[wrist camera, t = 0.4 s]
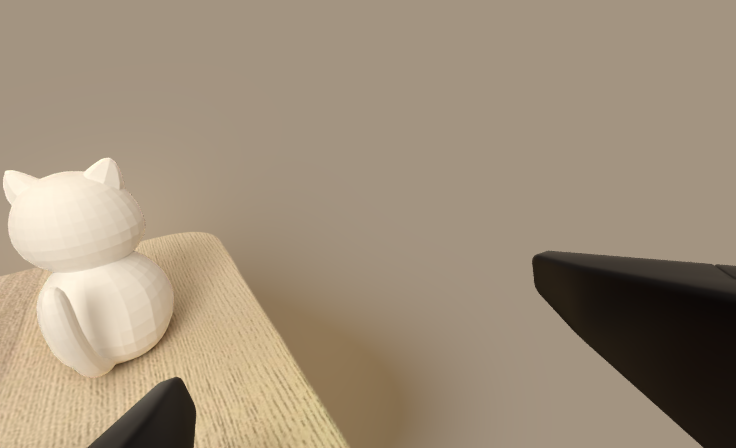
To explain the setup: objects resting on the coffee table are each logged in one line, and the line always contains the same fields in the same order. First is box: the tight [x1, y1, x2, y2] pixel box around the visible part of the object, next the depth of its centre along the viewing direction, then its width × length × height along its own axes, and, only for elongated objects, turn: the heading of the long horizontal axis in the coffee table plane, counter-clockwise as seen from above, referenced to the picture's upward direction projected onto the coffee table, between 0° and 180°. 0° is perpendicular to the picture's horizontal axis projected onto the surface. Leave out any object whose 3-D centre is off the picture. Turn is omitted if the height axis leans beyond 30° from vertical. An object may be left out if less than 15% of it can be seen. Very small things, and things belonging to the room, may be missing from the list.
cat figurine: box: [3, 158, 174, 378], centre depth 27 cm, size 9×12×15 cm
